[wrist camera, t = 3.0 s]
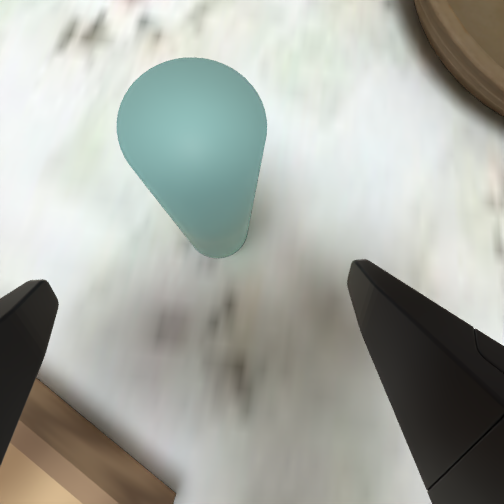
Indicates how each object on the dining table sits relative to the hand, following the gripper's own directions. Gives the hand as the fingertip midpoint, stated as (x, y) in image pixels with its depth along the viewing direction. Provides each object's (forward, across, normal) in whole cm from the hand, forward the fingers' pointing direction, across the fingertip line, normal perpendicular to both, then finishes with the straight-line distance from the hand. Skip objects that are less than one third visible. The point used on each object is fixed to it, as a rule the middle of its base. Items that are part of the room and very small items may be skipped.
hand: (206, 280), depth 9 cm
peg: (+11, 0, +5) cm, 12 cm away
